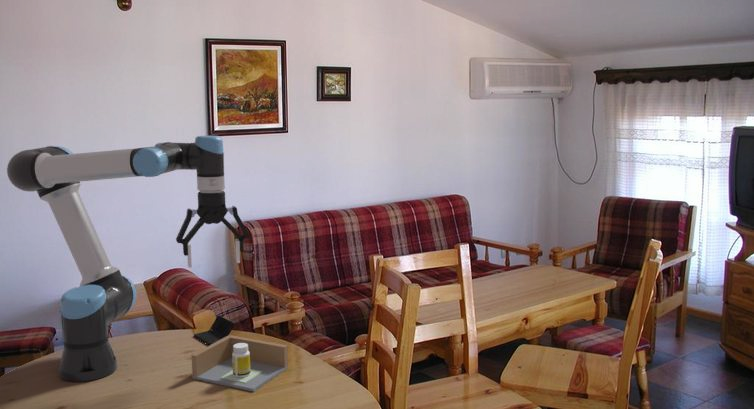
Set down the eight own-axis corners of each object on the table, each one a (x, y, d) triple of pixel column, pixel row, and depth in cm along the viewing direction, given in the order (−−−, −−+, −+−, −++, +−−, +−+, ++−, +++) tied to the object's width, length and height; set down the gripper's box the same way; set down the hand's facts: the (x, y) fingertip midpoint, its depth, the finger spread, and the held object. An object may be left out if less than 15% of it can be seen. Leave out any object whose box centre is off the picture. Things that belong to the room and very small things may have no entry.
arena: (192, 378, 191) (191, 355, 190) (229, 356, 207) (229, 334, 205) (253, 391, 183) (252, 367, 182) (287, 368, 198) (287, 345, 197)
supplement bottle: (254, 372, 193) (253, 343, 191) (243, 379, 189) (242, 349, 187) (240, 369, 195) (239, 341, 193) (229, 376, 191) (228, 346, 189)
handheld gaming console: (187, 333, 221) (205, 306, 224) (202, 341, 227) (219, 314, 229) (209, 347, 214) (227, 319, 217) (224, 355, 220) (241, 327, 222)
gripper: (166, 195, 188) (170, 271, 192) (258, 190, 197) (260, 263, 201) (164, 191, 195) (167, 265, 199) (253, 186, 204) (255, 257, 208)
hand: (214, 264), depth 200 cm, fingers open, 13 cm apart
